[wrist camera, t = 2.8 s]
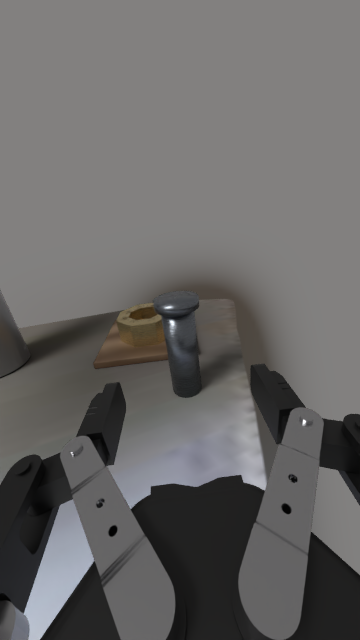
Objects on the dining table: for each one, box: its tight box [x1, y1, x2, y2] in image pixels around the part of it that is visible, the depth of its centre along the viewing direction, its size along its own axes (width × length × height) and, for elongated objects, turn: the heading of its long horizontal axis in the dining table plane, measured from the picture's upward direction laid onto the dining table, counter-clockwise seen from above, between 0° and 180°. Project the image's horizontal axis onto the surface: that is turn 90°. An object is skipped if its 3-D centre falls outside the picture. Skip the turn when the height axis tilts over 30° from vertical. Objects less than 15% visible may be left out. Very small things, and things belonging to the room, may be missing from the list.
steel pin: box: [153, 291, 201, 398], centre depth 26 cm, size 5×5×12 cm
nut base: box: [93, 303, 168, 369], centre depth 41 cm, size 16×16×5 cm
